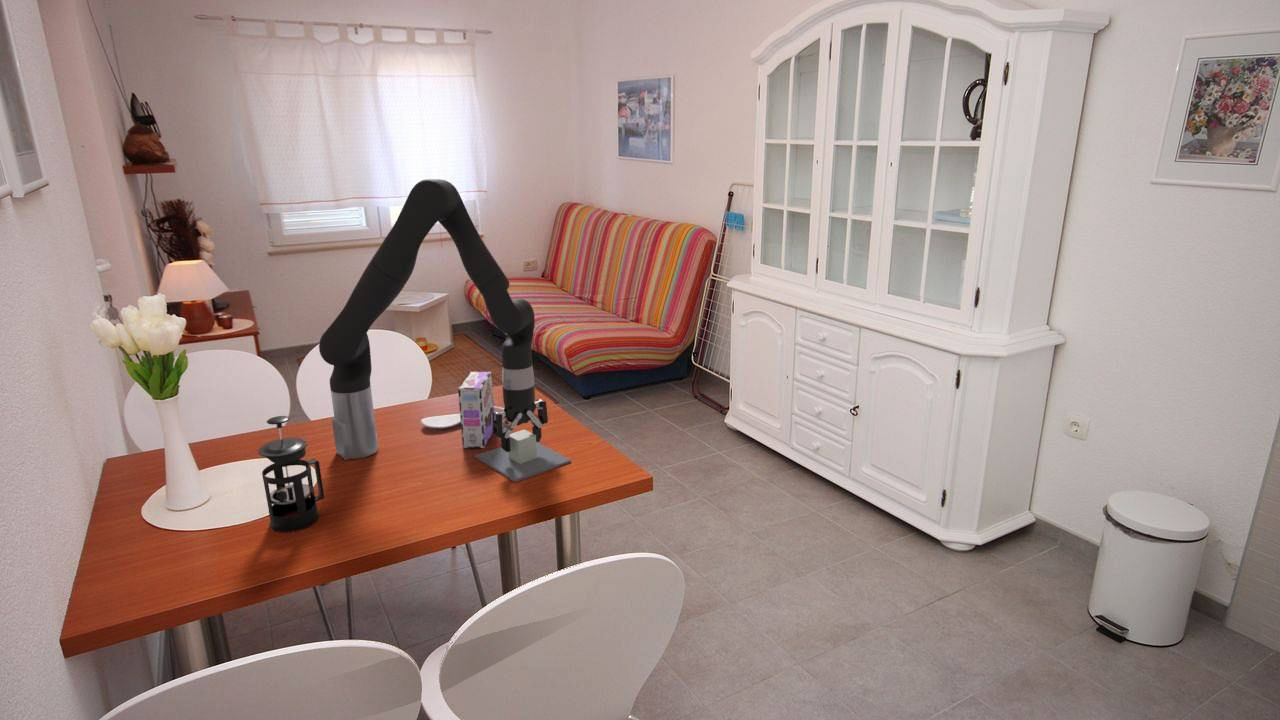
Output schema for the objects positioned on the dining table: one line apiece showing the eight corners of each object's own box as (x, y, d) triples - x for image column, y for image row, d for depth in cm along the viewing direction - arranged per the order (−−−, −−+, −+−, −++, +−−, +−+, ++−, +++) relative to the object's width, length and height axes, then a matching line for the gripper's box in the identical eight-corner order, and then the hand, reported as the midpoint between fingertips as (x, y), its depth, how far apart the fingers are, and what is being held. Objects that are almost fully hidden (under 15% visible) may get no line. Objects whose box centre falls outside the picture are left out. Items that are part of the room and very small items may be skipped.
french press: (279, 539, 147) (260, 432, 140) (258, 523, 153) (240, 420, 146) (335, 516, 155) (320, 414, 148) (314, 502, 161) (298, 404, 154)
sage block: (519, 463, 178) (518, 440, 176) (508, 457, 181) (506, 434, 179) (536, 457, 181) (535, 435, 179) (525, 451, 185) (524, 429, 183)
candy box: (485, 449, 188) (480, 388, 183) (462, 449, 188) (456, 388, 183) (496, 428, 201) (492, 370, 196) (474, 427, 201) (470, 370, 196)
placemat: (514, 482, 170) (514, 479, 170) (475, 457, 183) (475, 455, 183) (570, 462, 180) (570, 459, 180) (529, 440, 193) (529, 437, 193)
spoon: (539, 415, 210) (538, 403, 209) (425, 436, 196) (424, 424, 195) (529, 405, 218) (528, 394, 217) (418, 424, 204) (417, 413, 203)
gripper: (534, 373, 183) (537, 433, 187) (483, 386, 174) (488, 449, 178) (552, 380, 177) (554, 442, 182) (500, 394, 168) (505, 459, 173)
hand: (521, 446), depth 180 cm, fingers open, 8 cm apart
